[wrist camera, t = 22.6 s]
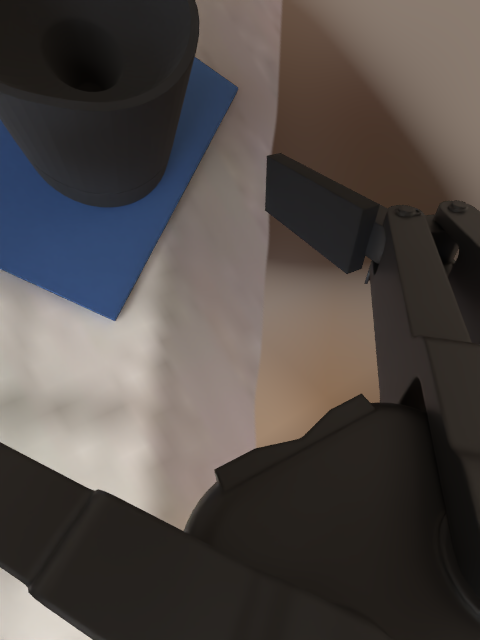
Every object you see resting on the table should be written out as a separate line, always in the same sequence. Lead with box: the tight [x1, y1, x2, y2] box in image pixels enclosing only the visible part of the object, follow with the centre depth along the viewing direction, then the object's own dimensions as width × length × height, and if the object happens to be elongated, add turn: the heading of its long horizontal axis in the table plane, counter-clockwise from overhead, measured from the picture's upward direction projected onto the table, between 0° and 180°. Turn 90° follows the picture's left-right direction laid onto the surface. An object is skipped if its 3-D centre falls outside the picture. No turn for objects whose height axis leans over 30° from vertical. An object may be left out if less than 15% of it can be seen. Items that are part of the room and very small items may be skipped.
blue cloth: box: [0, 57, 238, 321], centre depth 22 cm, size 12×20×1 cm, turn 155°
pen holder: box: [0, 0, 199, 207], centre depth 16 cm, size 9×9×10 cm
